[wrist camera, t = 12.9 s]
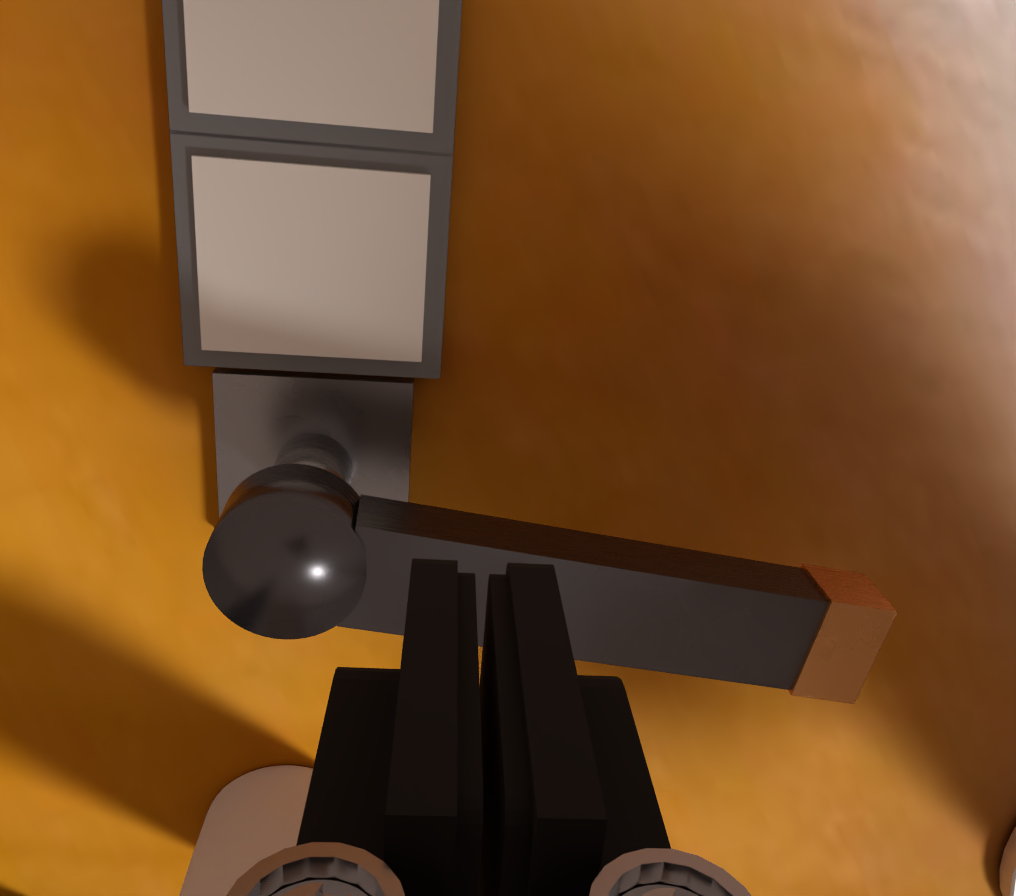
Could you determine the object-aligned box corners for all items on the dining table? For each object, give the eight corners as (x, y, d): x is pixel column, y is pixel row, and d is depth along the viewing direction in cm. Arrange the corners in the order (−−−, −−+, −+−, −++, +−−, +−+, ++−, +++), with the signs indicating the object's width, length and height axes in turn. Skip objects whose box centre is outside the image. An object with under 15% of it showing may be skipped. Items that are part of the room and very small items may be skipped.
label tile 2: (452, 151, 25) (453, 154, 24) (439, 371, 27) (440, 382, 26) (177, 128, 24) (166, 130, 23) (190, 357, 26) (181, 368, 25)
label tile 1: (467, -114, 22) (469, -124, 21) (451, 154, 25) (453, 158, 24) (161, -151, 21) (148, -163, 20) (177, 131, 24) (166, 134, 23)
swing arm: (214, 581, 24) (195, 627, 22) (230, 451, 22) (211, 488, 20) (819, 670, 27) (850, 717, 25) (867, 560, 26) (905, 601, 24)
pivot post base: (414, 375, 27) (412, 428, 23) (406, 542, 30) (403, 617, 25) (217, 365, 26) (180, 417, 22) (225, 536, 29) (192, 612, 25)
